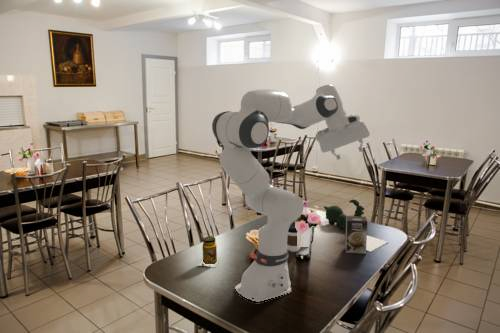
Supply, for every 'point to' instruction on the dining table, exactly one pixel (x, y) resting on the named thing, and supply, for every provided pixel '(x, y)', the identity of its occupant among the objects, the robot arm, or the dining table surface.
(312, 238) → the food container
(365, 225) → the coffee box
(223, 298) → the dining table surface
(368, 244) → the mat
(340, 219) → the toy figurine
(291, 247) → the coffee cup
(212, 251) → the condiment
